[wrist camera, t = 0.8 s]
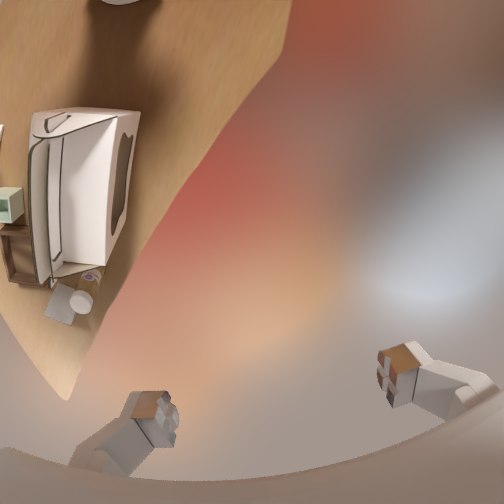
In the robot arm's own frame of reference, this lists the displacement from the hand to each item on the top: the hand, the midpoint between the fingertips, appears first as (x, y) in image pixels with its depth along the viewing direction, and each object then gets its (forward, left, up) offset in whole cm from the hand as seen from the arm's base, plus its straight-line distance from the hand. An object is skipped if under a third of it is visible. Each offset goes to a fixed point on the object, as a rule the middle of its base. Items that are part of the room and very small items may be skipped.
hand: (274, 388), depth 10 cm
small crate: (+12, -42, -48) cm, 65 cm away
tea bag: (+35, -29, -49) cm, 66 cm away
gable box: (+4, -20, -49) cm, 53 cm away
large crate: (+24, -40, -48) cm, 67 cm away
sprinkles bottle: (+27, -21, -48) cm, 59 cm away
